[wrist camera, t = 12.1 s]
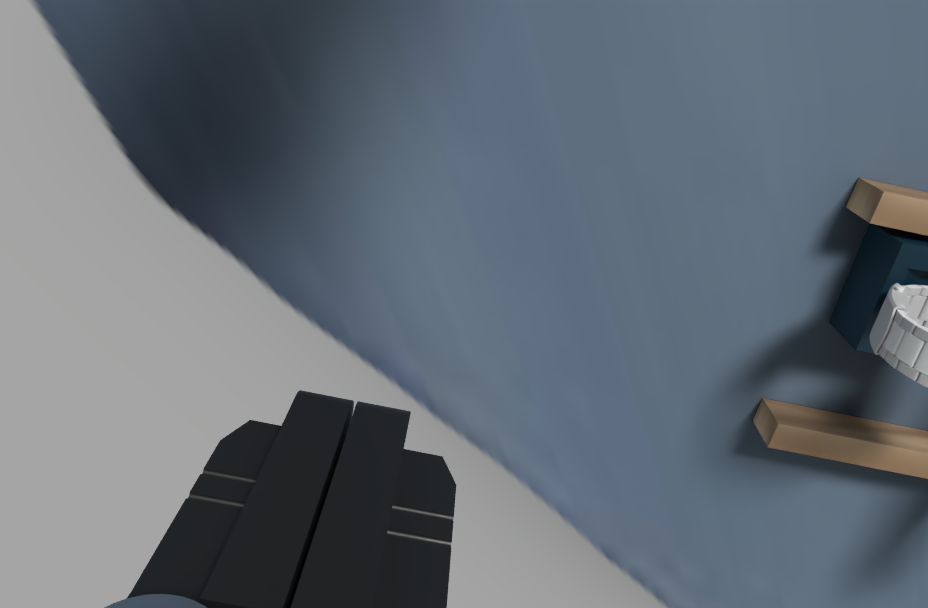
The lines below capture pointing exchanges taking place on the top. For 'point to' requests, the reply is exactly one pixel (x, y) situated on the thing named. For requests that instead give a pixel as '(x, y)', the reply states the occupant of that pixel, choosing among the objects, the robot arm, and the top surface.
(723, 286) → the top surface
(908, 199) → the display stand
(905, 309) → the watch
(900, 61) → the top surface
